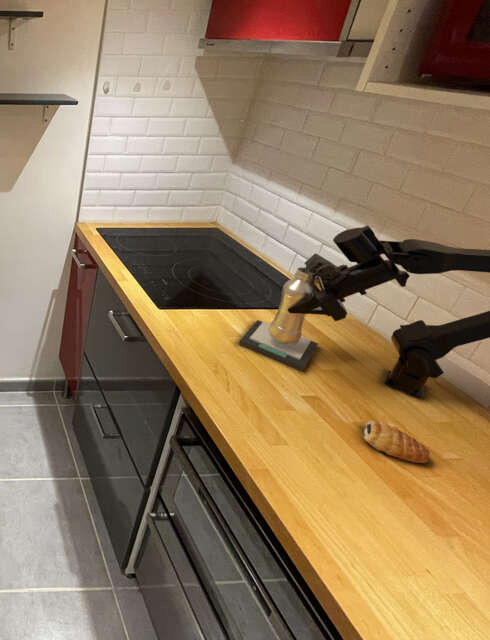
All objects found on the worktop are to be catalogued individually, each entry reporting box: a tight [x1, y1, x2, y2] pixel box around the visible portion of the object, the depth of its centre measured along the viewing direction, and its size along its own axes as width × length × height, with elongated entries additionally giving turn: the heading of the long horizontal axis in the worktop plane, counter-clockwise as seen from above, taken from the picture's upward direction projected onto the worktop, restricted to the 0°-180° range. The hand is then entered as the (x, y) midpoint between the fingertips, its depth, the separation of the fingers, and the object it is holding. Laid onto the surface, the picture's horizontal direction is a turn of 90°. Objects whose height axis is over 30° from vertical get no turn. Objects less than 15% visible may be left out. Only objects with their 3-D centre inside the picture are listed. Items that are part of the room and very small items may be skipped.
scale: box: [238, 319, 319, 372], centre depth 116 cm, size 14×14×2 cm
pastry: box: [363, 419, 431, 464], centre depth 86 cm, size 9×7×4 cm
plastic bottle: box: [269, 266, 316, 345], centre depth 109 cm, size 6×7×20 cm
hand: (287, 305), depth 109 cm, fingers closed on plastic bottle, 6 cm apart
